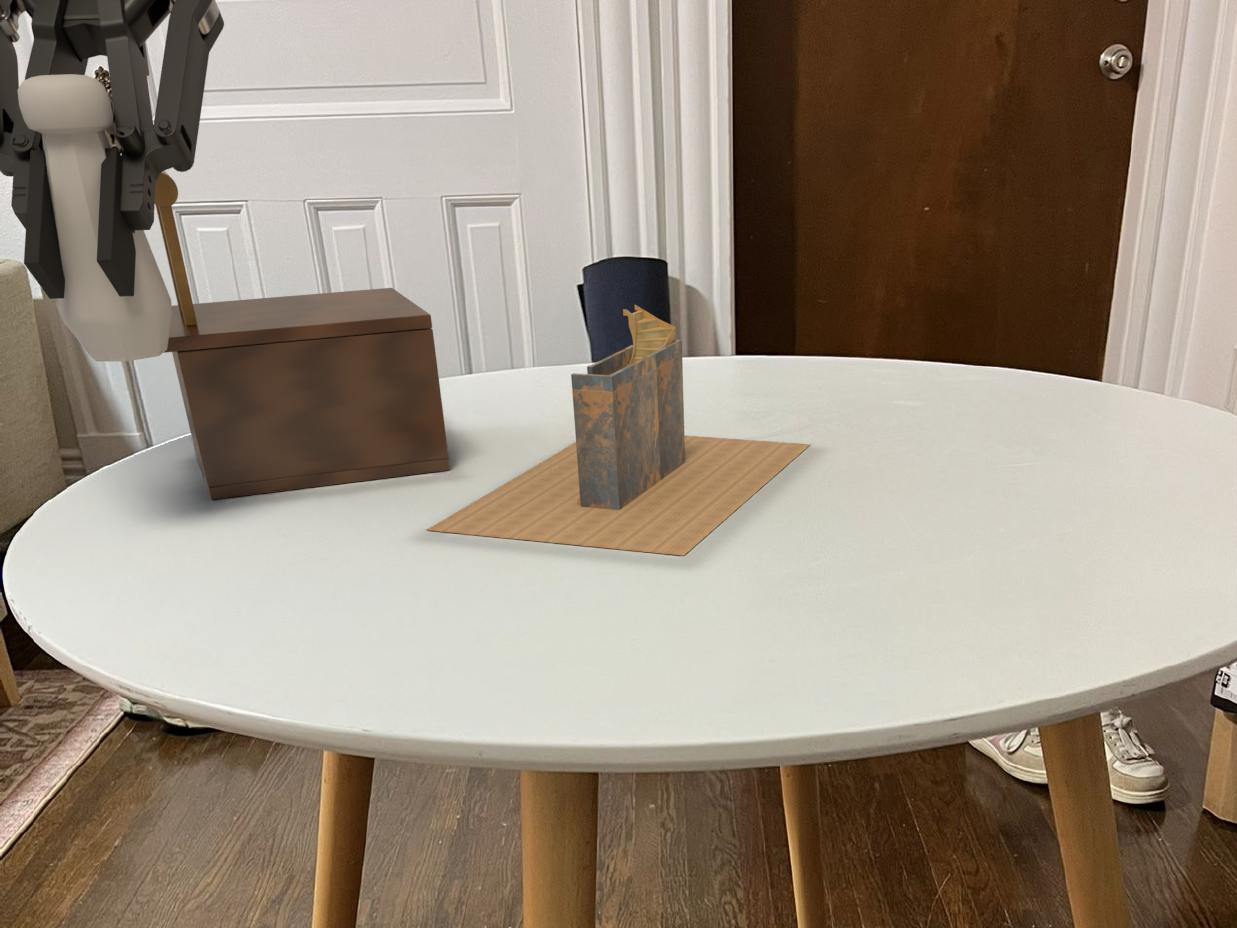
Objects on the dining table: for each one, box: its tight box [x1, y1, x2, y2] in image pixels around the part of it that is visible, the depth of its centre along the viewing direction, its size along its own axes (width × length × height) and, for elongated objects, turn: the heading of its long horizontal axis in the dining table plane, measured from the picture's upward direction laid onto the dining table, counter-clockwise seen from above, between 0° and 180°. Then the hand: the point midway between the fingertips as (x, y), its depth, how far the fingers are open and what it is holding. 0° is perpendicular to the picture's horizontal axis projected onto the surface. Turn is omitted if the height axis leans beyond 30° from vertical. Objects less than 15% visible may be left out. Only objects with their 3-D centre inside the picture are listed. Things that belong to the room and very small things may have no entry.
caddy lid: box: [154, 170, 433, 354], centre depth 83 cm, size 16×13×9 cm
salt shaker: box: [17, 74, 173, 362], centre depth 69 cm, size 6×6×13 cm
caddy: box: [171, 328, 451, 501], centre depth 88 cm, size 16×13×9 cm
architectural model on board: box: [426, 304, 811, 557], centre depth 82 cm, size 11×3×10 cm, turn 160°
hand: (80, 279), depth 67 cm, fingers closed on salt shaker, 3 cm apart
